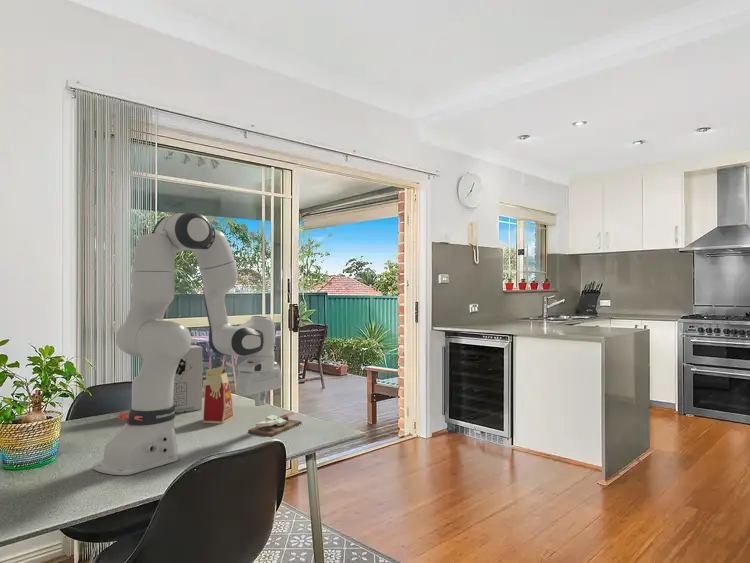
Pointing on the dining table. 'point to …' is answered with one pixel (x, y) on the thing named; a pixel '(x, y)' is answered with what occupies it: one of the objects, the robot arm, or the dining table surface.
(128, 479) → the dining table surface
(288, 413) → the three-dot tile
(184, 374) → the cereal box
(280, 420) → the two-dot tile
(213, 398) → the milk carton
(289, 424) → the brown flat board
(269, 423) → the one-dot tile
